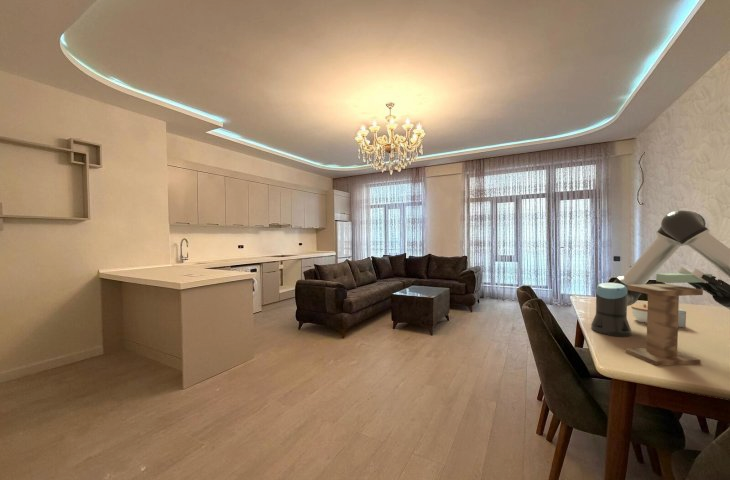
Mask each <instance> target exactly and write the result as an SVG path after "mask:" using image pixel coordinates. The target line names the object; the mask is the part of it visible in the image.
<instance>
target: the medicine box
mask: <svg viewBox="0 0 730 480" xmlns="http://www.w3.org/2000/svg"><path fill="white" fill-rule="evenodd" d="M686 323H687V311H686V310H684V309H683V308H679V309H678V328H686V327H687V326H686V325H687V324H686Z"/></svg>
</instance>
